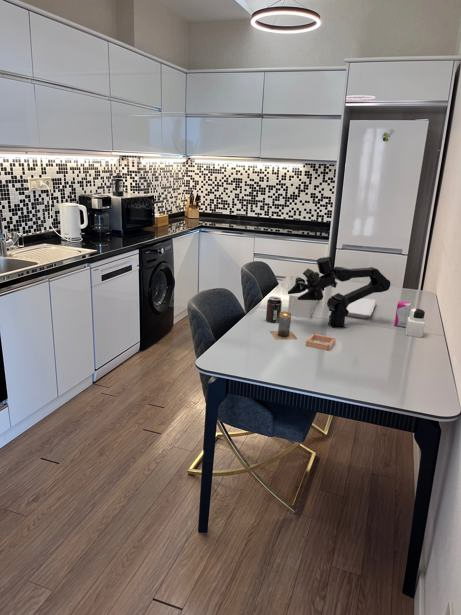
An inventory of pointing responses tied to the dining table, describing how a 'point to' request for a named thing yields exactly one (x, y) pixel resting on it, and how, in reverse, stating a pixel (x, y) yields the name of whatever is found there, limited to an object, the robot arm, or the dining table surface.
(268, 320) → the beverage can
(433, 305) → the dining table surface
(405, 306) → the supplement box
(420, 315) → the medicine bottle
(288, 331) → the battery cell
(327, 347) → the shallow wooden box
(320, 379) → the dining table surface
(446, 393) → the dining table surface
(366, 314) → the tray
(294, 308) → the long white box
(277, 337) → the tester plate
